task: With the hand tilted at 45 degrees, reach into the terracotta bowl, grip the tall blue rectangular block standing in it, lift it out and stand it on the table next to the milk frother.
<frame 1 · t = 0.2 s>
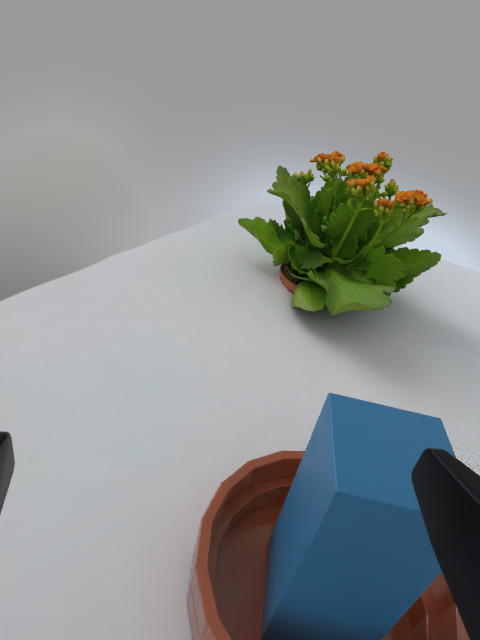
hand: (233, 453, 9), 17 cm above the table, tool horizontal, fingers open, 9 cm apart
potted flower: (311, 283, 56), on the table
blue rectangular block: (310, 595, 22), resting on terracotta bowl
terracotta bowl: (309, 598, 22), on the table
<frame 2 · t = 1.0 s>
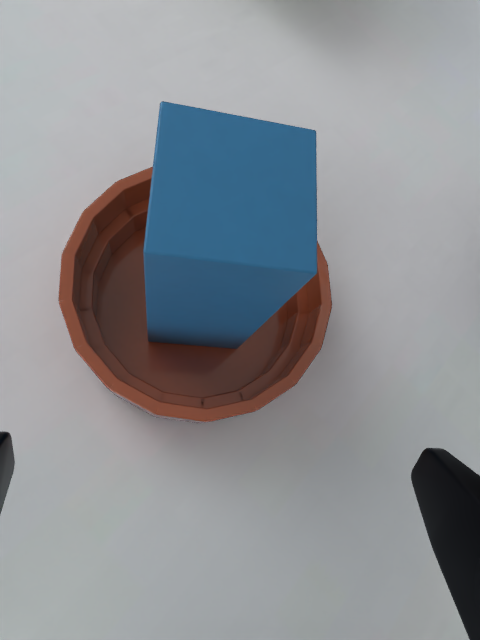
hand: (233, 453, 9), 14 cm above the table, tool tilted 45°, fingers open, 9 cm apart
blue rectangular block: (196, 302, 23), resting on terracotta bowl
terracotta bowl: (196, 304, 24), on the table
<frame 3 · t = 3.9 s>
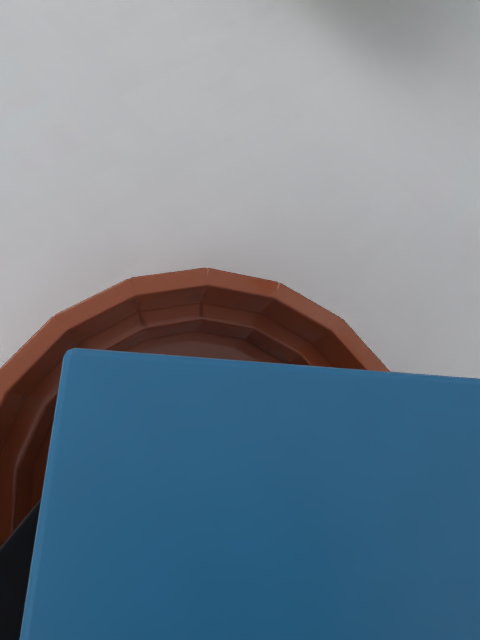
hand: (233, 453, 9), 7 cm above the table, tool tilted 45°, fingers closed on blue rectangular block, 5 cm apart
blue rectangular block: (197, 483, 14), resting on terracotta bowl, touching gripper
terracotta bowl: (197, 482, 15), on the table
when the fingers open (6 cm above the table, at t = 11.2 s): blue rectangular block stays where it is, on the table.
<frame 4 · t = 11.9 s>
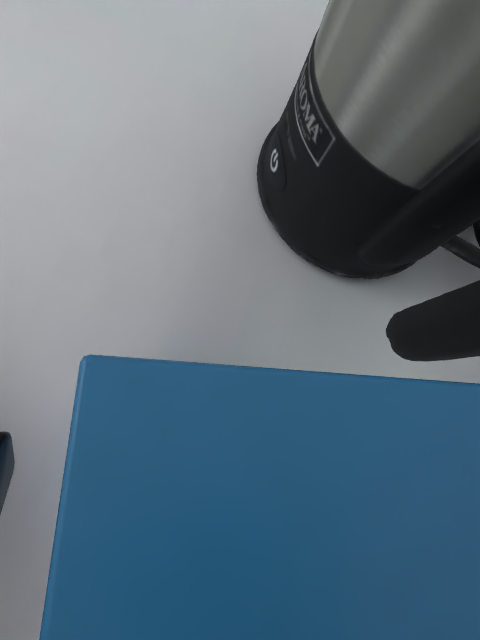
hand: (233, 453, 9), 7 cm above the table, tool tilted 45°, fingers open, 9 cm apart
blue rectangular block: (196, 480, 15), on the table
milk frother: (421, 215, 20), on the table
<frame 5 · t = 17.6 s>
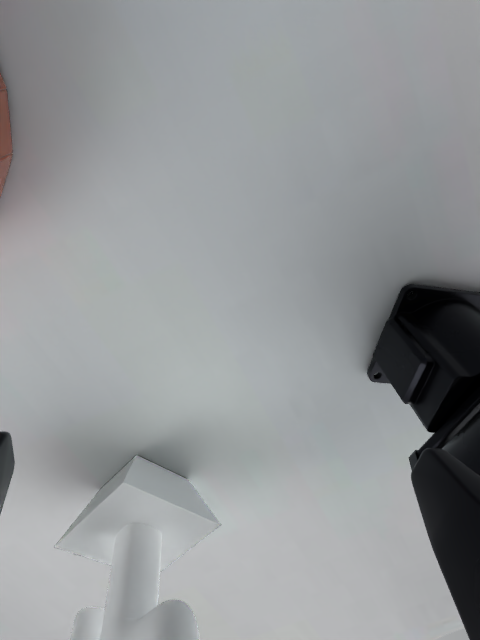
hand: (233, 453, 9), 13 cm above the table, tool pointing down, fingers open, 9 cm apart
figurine: (144, 482, 29), on the table
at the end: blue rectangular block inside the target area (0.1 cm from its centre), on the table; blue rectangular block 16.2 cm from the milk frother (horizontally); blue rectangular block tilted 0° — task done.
